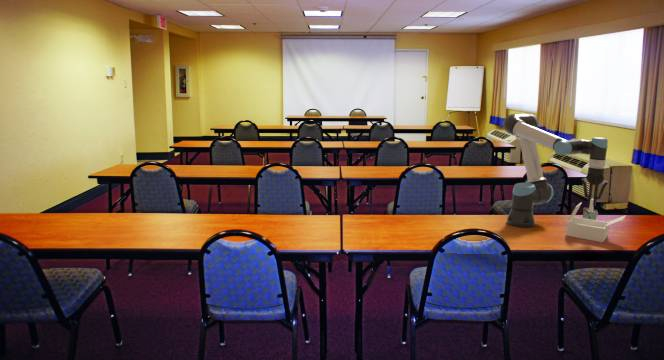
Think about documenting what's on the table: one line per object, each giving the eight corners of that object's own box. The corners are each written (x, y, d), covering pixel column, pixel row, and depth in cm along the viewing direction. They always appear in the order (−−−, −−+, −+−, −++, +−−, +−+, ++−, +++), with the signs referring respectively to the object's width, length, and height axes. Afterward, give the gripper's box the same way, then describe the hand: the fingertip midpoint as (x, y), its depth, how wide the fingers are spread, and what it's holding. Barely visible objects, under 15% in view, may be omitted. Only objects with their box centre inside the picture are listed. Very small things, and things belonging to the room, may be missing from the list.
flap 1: (581, 202, 279) (581, 202, 279) (576, 207, 269) (575, 206, 269) (574, 216, 282) (573, 215, 283) (568, 221, 273) (568, 220, 273)
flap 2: (621, 220, 257) (622, 220, 257) (625, 215, 267) (626, 215, 267) (604, 226, 262) (605, 227, 262) (608, 221, 272) (609, 222, 272)
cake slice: (599, 230, 285) (601, 213, 283) (587, 229, 286) (589, 212, 284) (592, 224, 296) (594, 208, 294) (581, 223, 298) (583, 207, 296)
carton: (565, 235, 273) (567, 222, 272) (571, 229, 285) (573, 216, 284) (602, 242, 263) (604, 228, 261) (607, 236, 275) (609, 222, 273)
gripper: (581, 166, 267) (576, 210, 272) (609, 169, 260) (603, 214, 264) (584, 164, 273) (579, 207, 278) (611, 167, 266) (605, 211, 270)
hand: (590, 211), depth 271 cm, fingers closed
